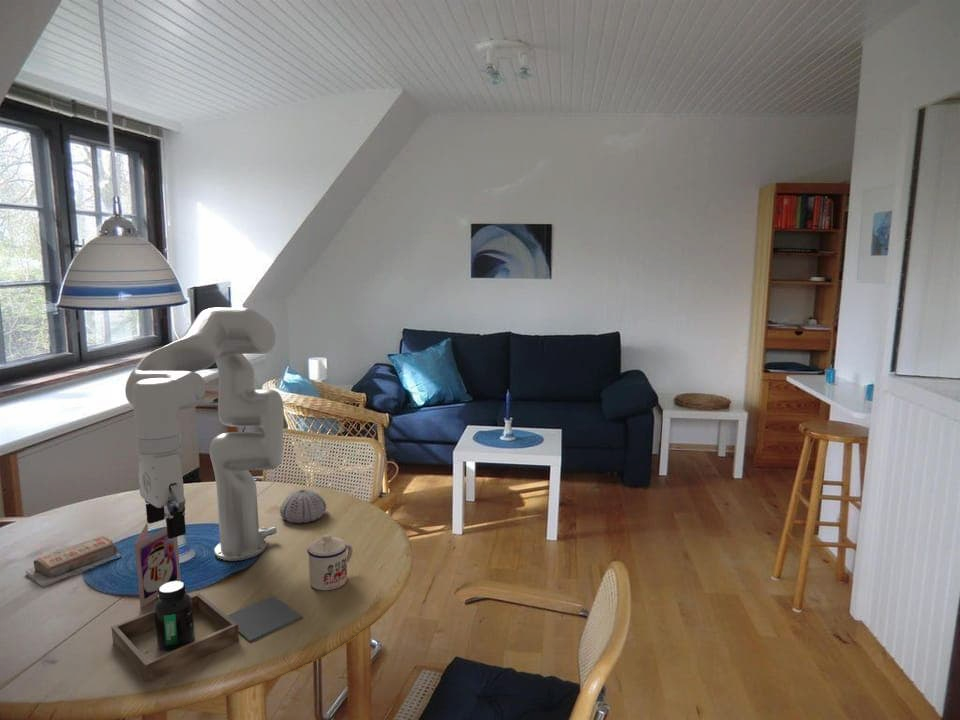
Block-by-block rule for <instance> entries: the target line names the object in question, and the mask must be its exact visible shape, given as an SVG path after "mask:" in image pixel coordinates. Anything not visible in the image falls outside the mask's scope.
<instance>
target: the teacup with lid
mask: <svg viewBox="0 0 960 720" xmlns="http://www.w3.org/2000/svg"><path fill="white" fill-rule="evenodd" d="M306 550H307V551H306V552H307V553H308V570H309V571H308V572H309V585H310V586H311V588H313V589H316V590H319V591H331V590H336V589H338V588H341V587H342V586H344V585H345V584H346V582H347V580H348V569H347V568H348V567H347V564H348V563H350V561H351V559H352V556H353V553H354V552H353V551H354V550H353V546H352V545H351V544H349V543H346V541H345V540H344V539H342V538H339V537H335V536H334V537H332V535H331V534H329V533H326V534H323V535H322V538H318V539H316V540H314V541H312V542H311V543H310V544H309V545H308V546H307V549H306Z"/></svg>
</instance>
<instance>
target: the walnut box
mask: <svg viewBox="0 0 960 720" xmlns="http://www.w3.org/2000/svg"><path fill="white" fill-rule="evenodd" d="M189 596H190V597H191V599H192V608H193V613H196V612H197V611H198V612H200V613H201V614H202V615H203V616H204V617H205V618H206V619H208V620H209V621H210V622H211V623H212V624H213V625H215V626H216V627H217V628H218V629H219V630H217V631H215V632H211V633H210V634H208V635H206V636H203V637H201V638H199V639H196V640H193V641H192V642H191V643H189V644H187V645H185V646H183V647H180V648H178V649H176V650H174V651H168V652H167V653H165V654H162V655H160V656H158V657H156V658H154V659H153V658H152V659H151V660H148V659H147V658H146V657H145V655H143V654H142V653H141V651H140V650H139V649H138V648H137V647H136V646H135V645H134V644H133V642H131V640H130V639H132V638H133V637H134V638H135V637H136V636H139V635H142V634H144V633H147V632H149V631H151V630H153V629H156V626H155V615H154V609H153V610H151V611H148V612H146V613H144V614H141V615H139V616H136V617H133V618H131V619H128V620H125V621H123V622H120V623H118V624H114V625H112V626H111V635H112V636H111V637H112V643H113V644H114V646H115V647H116V648H117V649H118V651H119V652H120V653H121V654H122V655H123V656H124V658H126V660H127V661H128V662H129V663H130V664H131V666H132V667H133V668H134V670H136V671H137V673H138V674H139V675H140V676H141V678H143V680H144V681H145V682H146V683H147V684H149V682H152V681H154V680H156V679H159V678H161V677H162V676H165V675H167V674H169V673H172V672H173V671H176V670H178V669H180V668H183V667H184V666H186V665H188V664H192V663H193V662H195V661H198V660H201V659H202V658H204V657H207V656H209V655H210V654H212V653H215V652H217V651H220V650H222V649H223V648H226V647H228V646H230V645H233V644H235V643H238V642H239V641H240V636H239V635H240V634H239V632H238V624H237V623H235V622H234V621H233V620H232V619H231V618H229V617H228V616H227V615H228V614H226V613H224V611H222V610H221V609H219V608H218V606H216V605H215V604H213V603H212V602H211V601H210V600H209V599H207V598H206V597H205V596H204V595H203V594H201V593H200V592H198V593H195V594H192V595H189Z"/></svg>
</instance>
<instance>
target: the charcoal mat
mask: <svg viewBox="0 0 960 720" xmlns="http://www.w3.org/2000/svg"><path fill="white" fill-rule="evenodd" d="M226 615H227V616H228V617H229V618H231V619H232V620H233V621H234V622H235V623H237V624H238V632H239V635H240V636H241V637H243V638H244V639H246V641H248V642H249V643H252V642H254V641H257V640H258V639H260V638H262V637H265V636H266V635H269V634H271V633H273V632H275V631H277V630H279V629H282V628H284V627H286V626H288V625H290V624H292V623H294V622H296V621H298V620H301V619H303V617H304V616H303V615H302V614H300V613H299V612H298V611H296V610H295V609H293V608H292V607H290V606H289V605H287V604H286V603H284V602H283V601H282V600H281V599H279V598H277V597H276V596H274V595H272V596H268V597H266V598H264V599H261V600H260V601H258V602H255V603H253V604H250V605H247V606H246V607H243V608H241V609H238V610H236V611H234V612H231V613H229V614H226Z"/></svg>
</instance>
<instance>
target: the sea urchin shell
mask: <svg viewBox="0 0 960 720" xmlns="http://www.w3.org/2000/svg"><path fill="white" fill-rule="evenodd" d="M326 509H327V503H326V500H325V499H324V498H323V497H322V495H320V494H319V493H317V492H316V491H314V490H313V489H312V490H311V489H307V488H306V489H297V490H295V491H292V492H291V493H289V495H287V496H286V498H285V499H284V501H283V502H282V503H281V505H280V507H279V514H280V516H281V519H283V521H287V522H289V523H293V524H294V523H295V524H302V523H304V524H306V523H310V522H314V521H317V519H320V518H321V517H323V515H324V514H325V513H326V511H327V510H326Z"/></svg>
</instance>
